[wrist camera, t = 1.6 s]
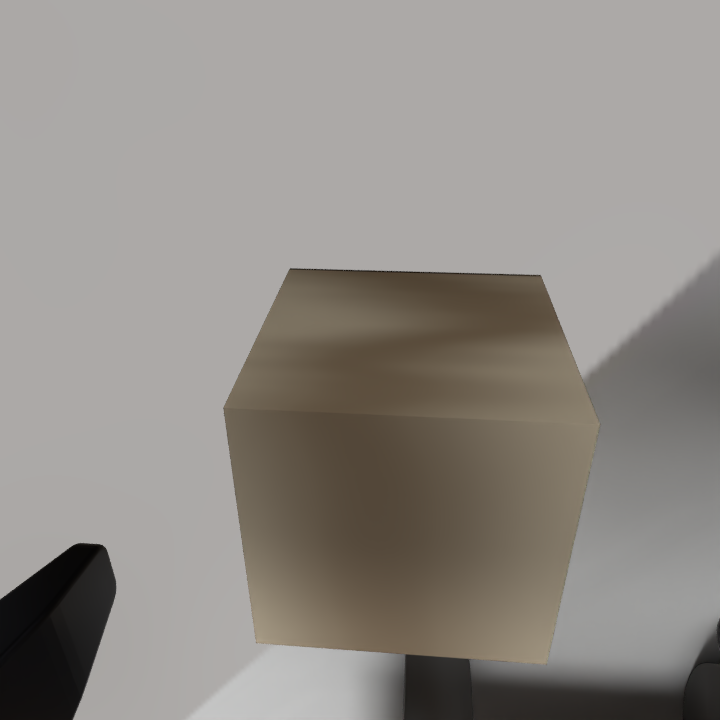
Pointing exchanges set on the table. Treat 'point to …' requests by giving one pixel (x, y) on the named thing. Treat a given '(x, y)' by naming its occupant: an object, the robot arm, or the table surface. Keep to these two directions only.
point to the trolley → (454, 692)
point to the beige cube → (410, 464)
